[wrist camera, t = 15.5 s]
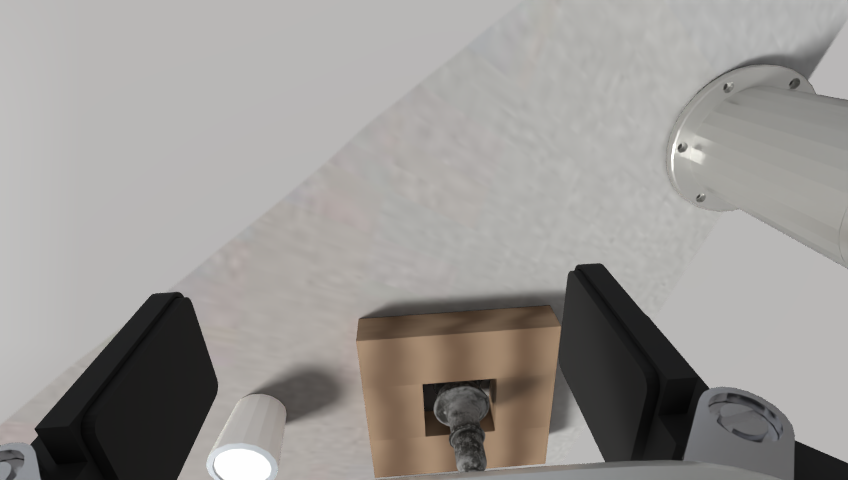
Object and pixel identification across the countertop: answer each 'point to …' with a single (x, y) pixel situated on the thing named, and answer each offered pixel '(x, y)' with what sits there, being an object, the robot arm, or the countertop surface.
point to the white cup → (250, 441)
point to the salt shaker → (463, 421)
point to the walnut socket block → (450, 362)
